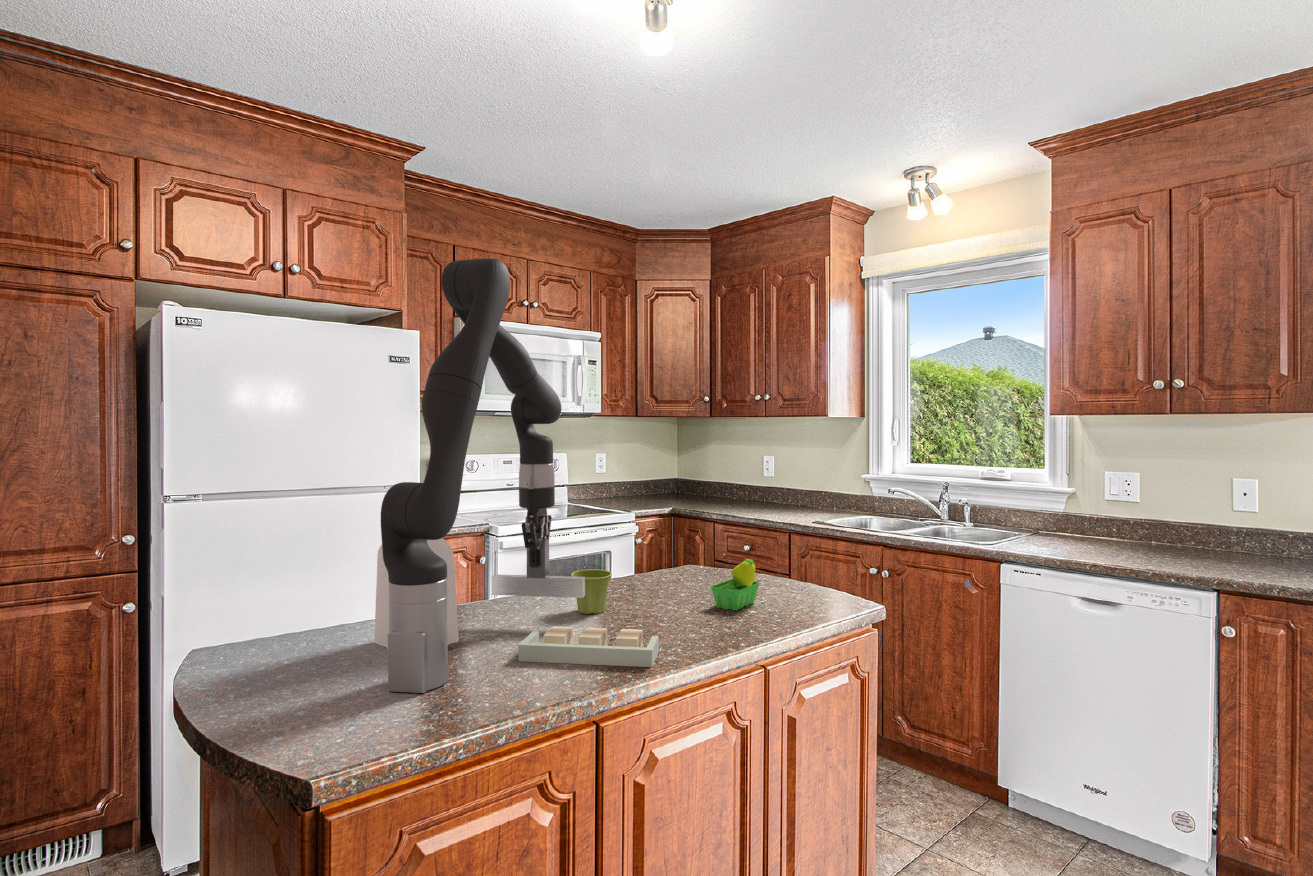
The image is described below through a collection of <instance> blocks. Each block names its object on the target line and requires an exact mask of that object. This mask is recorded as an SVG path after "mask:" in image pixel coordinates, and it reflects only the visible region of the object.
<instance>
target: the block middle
mask: <svg viewBox="0 0 1313 876" xmlns="http://www.w3.org/2000/svg"><path fill="white" fill-rule="evenodd" d="M578 645H601V646H608V628H605V627H603V628H602V627H586V628H585V629H584V630H582V632H581V634H580V635H578Z"/></svg>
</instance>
